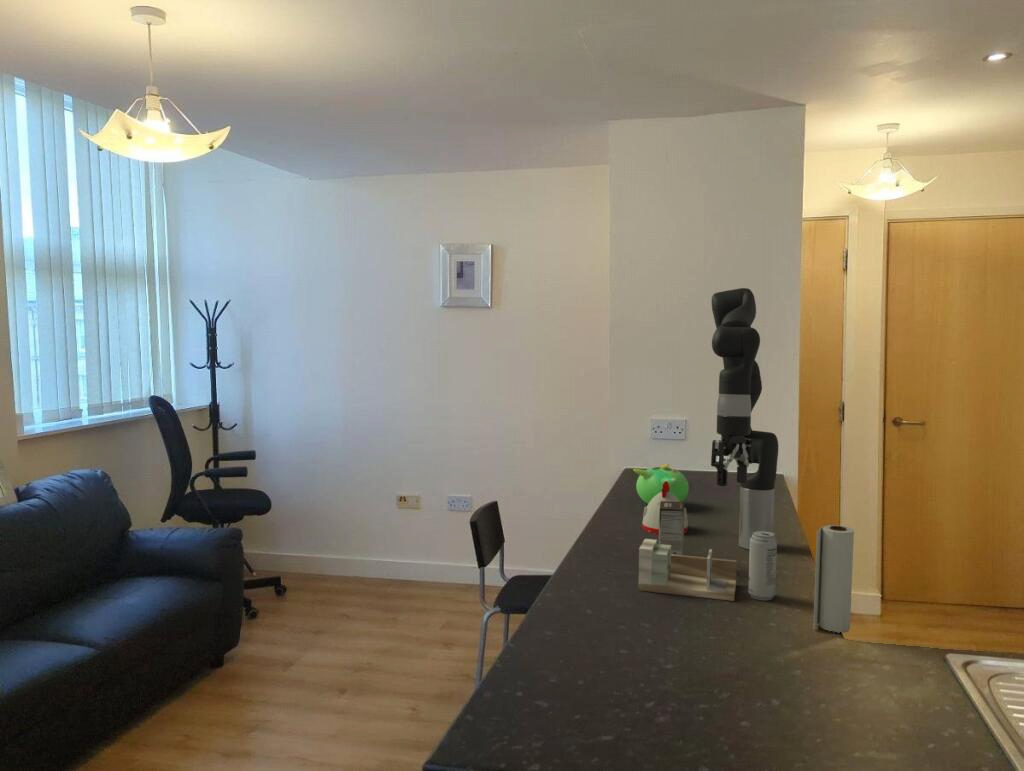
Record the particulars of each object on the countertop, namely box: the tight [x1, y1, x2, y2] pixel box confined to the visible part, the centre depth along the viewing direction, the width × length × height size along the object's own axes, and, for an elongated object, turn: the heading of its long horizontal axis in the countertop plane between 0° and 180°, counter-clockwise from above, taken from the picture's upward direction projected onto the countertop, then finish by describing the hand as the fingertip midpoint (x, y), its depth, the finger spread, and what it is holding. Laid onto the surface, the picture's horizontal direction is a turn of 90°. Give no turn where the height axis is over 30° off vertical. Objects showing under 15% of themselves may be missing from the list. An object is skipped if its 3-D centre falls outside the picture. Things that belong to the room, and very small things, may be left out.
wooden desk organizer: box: [637, 538, 738, 602], centre depth 188 cm, size 12×22×10 cm, turn 72°
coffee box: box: [658, 501, 685, 555], centre depth 206 cm, size 9×6×16 cm
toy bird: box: [632, 463, 690, 505], centre depth 272 cm, size 18×17×15 cm
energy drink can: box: [747, 531, 778, 601], centre depth 181 cm, size 6×6×15 cm
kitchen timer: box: [641, 481, 689, 535], centre depth 242 cm, size 14×14×15 cm
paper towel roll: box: [812, 524, 855, 634], centre depth 163 cm, size 7×6×21 cm
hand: (731, 484), depth 180 cm, fingers open, 8 cm apart
